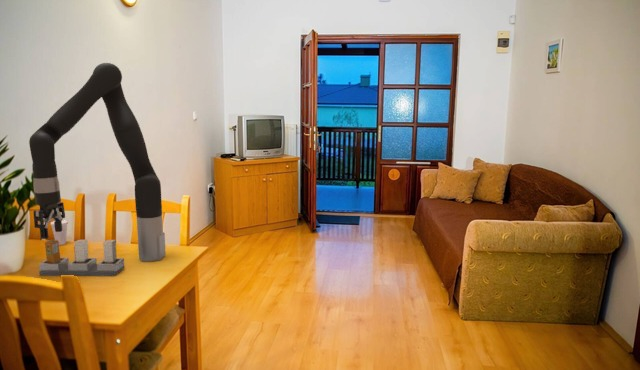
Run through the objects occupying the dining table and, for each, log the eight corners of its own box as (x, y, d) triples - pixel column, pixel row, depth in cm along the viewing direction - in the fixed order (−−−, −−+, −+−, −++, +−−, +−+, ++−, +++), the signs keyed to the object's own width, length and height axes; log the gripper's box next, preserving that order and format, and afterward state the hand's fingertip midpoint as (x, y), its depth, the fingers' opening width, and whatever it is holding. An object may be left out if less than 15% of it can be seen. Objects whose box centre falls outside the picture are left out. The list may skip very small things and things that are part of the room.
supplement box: (46, 268, 153) (43, 241, 152) (55, 265, 157) (52, 238, 155) (53, 269, 152) (50, 242, 151) (61, 266, 156) (59, 239, 154)
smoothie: (72, 242, 188) (70, 210, 185) (62, 246, 182) (60, 214, 179) (59, 241, 188) (56, 210, 186) (48, 245, 182) (45, 213, 180)
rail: (125, 267, 160) (123, 237, 158) (115, 276, 152) (113, 244, 150) (52, 267, 159) (49, 237, 157) (38, 275, 151) (35, 243, 149)
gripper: (45, 194, 143) (51, 241, 146) (69, 186, 157) (73, 229, 160) (22, 194, 142) (28, 241, 145) (48, 186, 156) (52, 229, 159)
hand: (52, 234), depth 153 cm, fingers open, 8 cm apart
